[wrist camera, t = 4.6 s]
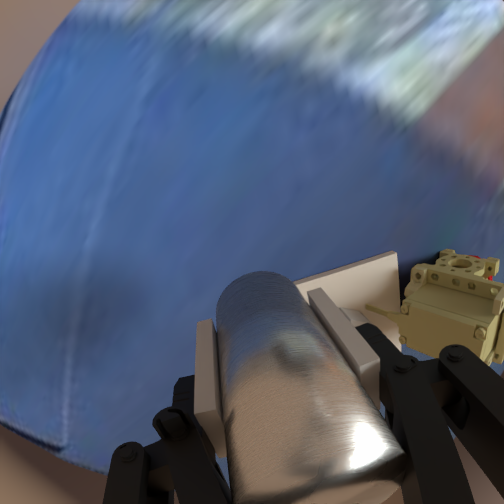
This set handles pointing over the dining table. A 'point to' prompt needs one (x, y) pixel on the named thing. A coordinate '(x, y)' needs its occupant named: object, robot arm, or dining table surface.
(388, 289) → the plate
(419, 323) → the mechanical component
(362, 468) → the elbow
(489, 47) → the dining table surface
